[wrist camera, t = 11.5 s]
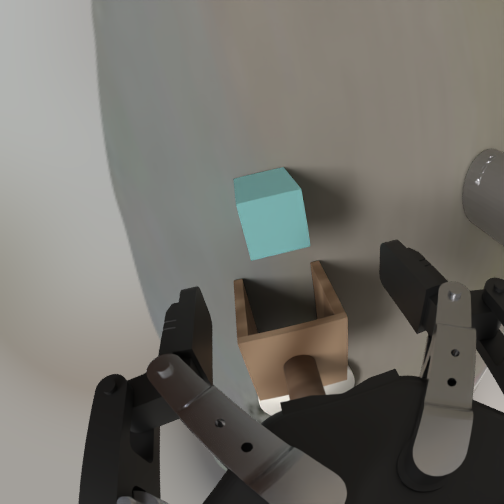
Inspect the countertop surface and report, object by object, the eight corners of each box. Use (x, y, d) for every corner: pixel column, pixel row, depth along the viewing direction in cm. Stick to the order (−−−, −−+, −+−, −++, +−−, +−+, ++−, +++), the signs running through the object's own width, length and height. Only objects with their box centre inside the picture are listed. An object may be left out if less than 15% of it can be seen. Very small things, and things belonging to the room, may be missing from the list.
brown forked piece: (318, 260, 27) (373, 372, 16) (324, 322, 31) (364, 426, 20) (233, 280, 27) (242, 404, 16) (252, 339, 31) (266, 450, 20)
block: (283, 167, 23) (301, 189, 18) (292, 212, 25) (310, 246, 20) (233, 178, 23) (235, 204, 18) (245, 224, 25) (251, 260, 20)
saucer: (370, 371, 37) (372, 377, 36) (308, 417, 41) (310, 424, 40) (301, 344, 32) (303, 352, 31) (239, 400, 37) (239, 407, 36)
